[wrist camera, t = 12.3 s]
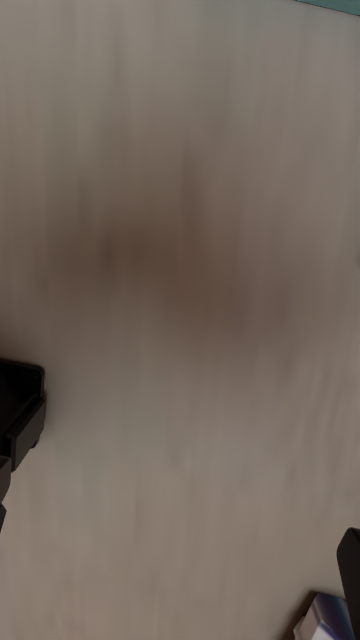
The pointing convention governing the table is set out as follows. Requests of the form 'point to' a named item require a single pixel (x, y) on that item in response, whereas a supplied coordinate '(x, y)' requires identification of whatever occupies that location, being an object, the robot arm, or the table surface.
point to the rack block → (338, 5)
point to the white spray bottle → (325, 620)
